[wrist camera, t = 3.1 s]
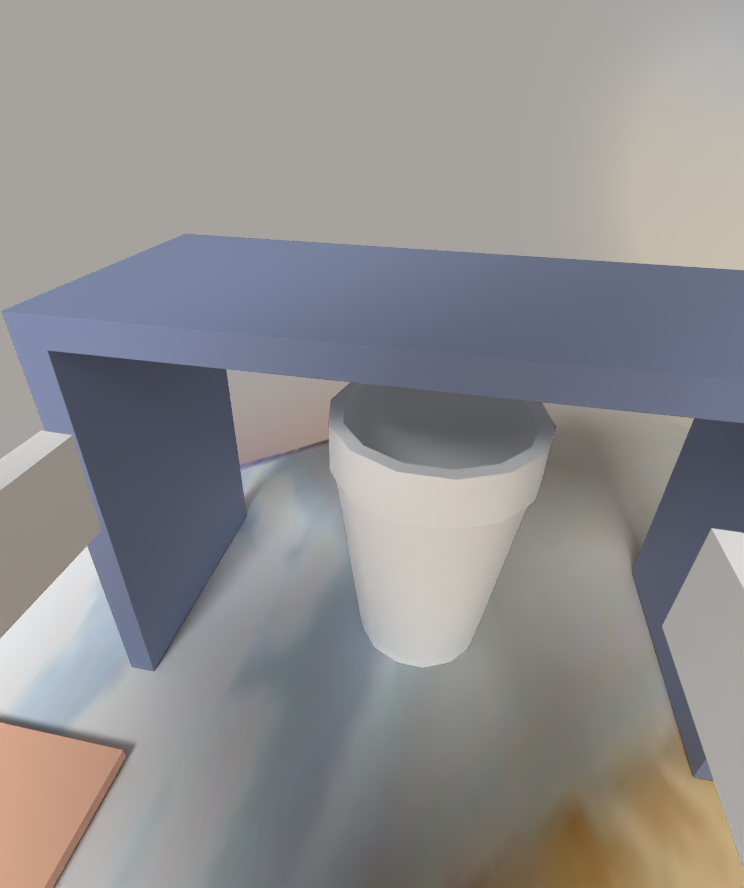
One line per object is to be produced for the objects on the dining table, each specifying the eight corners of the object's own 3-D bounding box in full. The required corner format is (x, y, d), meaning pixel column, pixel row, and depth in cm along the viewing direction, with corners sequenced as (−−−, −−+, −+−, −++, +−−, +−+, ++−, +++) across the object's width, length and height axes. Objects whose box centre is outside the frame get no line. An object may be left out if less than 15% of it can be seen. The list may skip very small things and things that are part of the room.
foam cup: (377, 538, 35) (384, 352, 28) (519, 585, 32) (567, 389, 24) (302, 652, 27) (284, 440, 20) (476, 728, 24) (528, 508, 17)
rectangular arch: (652, 575, 32) (784, 273, 23) (723, 783, 22) (1014, 405, 13) (230, 513, 36) (184, 233, 27) (131, 666, 26) (1, 311, 17)
